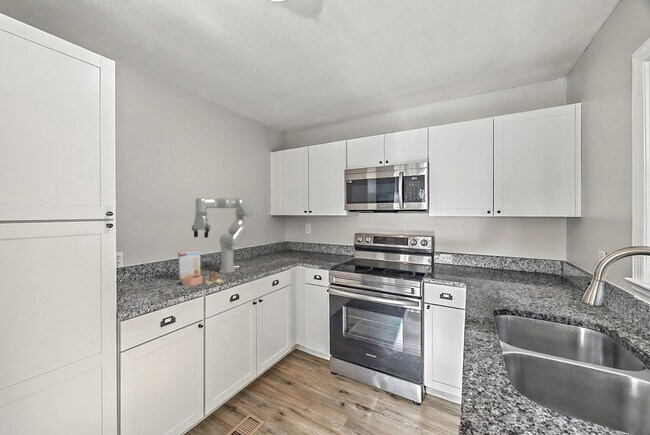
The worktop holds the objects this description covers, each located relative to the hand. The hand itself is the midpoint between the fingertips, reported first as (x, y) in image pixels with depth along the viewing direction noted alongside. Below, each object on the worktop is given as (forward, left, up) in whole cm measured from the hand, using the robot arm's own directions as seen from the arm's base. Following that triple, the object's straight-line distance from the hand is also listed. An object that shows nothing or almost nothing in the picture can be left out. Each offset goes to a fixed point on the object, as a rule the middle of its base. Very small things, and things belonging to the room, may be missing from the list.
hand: (201, 237), depth 200 cm
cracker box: (+7, -6, -31) cm, 33 cm away
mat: (-3, +17, -31) cm, 36 cm away
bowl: (+10, +12, -31) cm, 35 cm away
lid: (-3, +17, -31) cm, 35 cm away
